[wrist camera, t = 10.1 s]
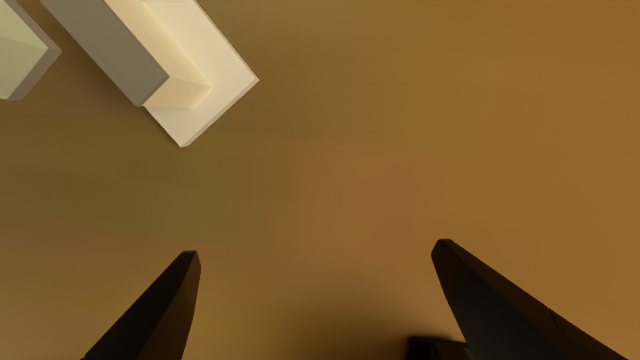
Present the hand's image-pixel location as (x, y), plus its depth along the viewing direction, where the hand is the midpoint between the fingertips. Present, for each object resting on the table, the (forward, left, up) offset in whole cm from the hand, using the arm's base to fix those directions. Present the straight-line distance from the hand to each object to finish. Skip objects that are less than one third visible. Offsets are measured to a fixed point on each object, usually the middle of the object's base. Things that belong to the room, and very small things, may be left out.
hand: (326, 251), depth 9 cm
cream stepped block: (+8, +13, -12) cm, 19 cm away
